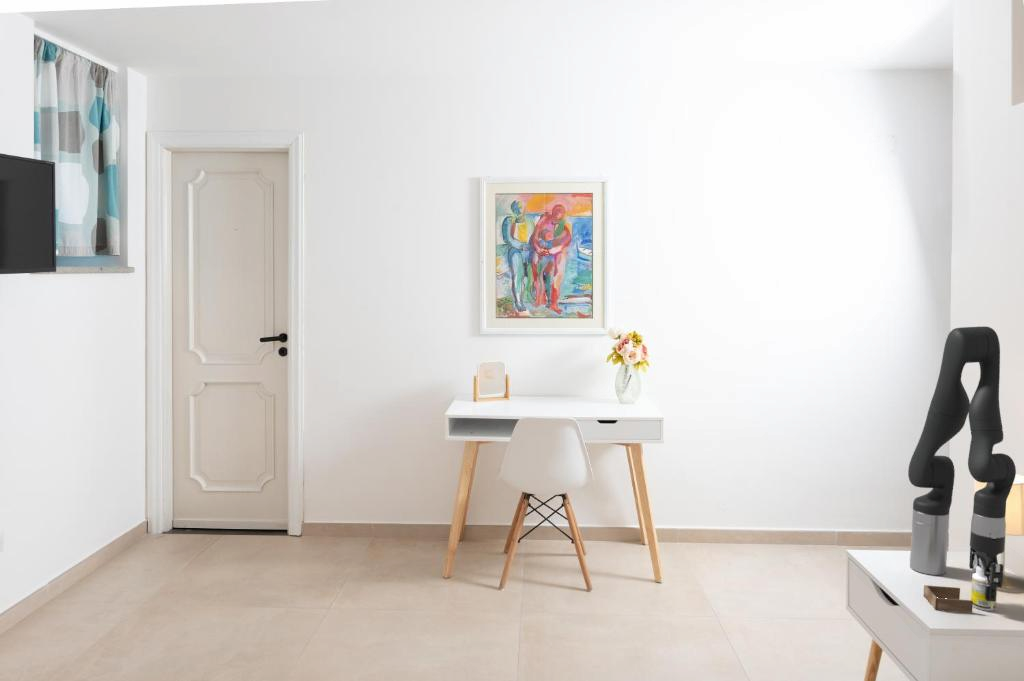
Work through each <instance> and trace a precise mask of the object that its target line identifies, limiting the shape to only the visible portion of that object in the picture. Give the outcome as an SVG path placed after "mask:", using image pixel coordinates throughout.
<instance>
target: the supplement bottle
mask: <svg viewBox="0 0 1024 681" xmlns="http://www.w3.org/2000/svg"><path fill="white" fill-rule="evenodd" d="M987 573H990V572H987ZM989 579H990V577H989ZM985 590H986V581H985V577H983V576H982V570H981V568H980V567H979V566H977V567H976V573H974V574H973V573H972V577H971V590H970V591H971V592H970V593H971V594H970V595H971V596H970V600H972V601H973V607H972V608H976V609H977V610H980V611H981V610H982V611H984V612H985V611H986V612H987V611H988V612H990V611H991V612H992V611H995V610H996V609H997V596H998V587H997V588H996V600H995V601H987V600H986V599H985Z"/></svg>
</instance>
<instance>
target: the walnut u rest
mask: <svg viewBox="0 0 1024 681" xmlns="http://www.w3.org/2000/svg"><path fill="white" fill-rule="evenodd" d="M960 594H961V588H960V587H956V586H955V587H953V586H938V585H926V584H925V585H924V586H923V597H924V599H925V598H926V599H927V600H928V601H927V600H926V599H925V600H926V601H927V602H928V603H929V605H930V606H931V605H932V606H933V607H932V606H931V607H932V608H933V609H934V610H935V611H942V610H944V612H956V613H970V614H971V613H973V608H974V607H973V601H972V600H971V599H960V598H961V595H960ZM937 597H938V598H937ZM945 598H947V599H945Z"/></svg>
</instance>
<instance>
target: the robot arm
mask: <svg viewBox="0 0 1024 681" xmlns="http://www.w3.org/2000/svg"><path fill="white" fill-rule="evenodd" d="M968 363H969V364H970V363H971V364H972V363H978V365H979V371H980V375H979V376H980V377H979V381H978V383H977V387H976V390H975V392H974V394H973V396H972V398H971V400H970V399H969V395H968V393H967V391H966V389H965V386H964V385H963V382H962V375H963V370H964V367H965V366H966V364H968ZM1000 365H1001V345H1000V339H999V336H998V334H997V332H996V331H995V330H994V329H993V328H992V327H990V326H968V327H967V326H964V327H955V328H953V329H951V331H950V332H948V334H947V337H946V340H945V343H944V348H943V353H942V359H941V365H940V370H939V374H938V378H937V382H936V385H935V389H934V392H933V395H932V398H931V401H930V404H929V407H928V411H927V415H926V420H925V423H924V426H923V429H922V432H921V434H920V437H919V440H918V442H917V444H916V446H915V449H914V451H913V452H912V453H913V454H912V455H911V458H910V461H909V464H908V470H907V471H908V473H907V474H908V479H909V482H910V483H911V485H913V486H914V487H915V488H916V487H917V488H923V489H931V490H930V491H929V492H927V493H925V494H922V495H921V496H917V497H916V498H914V500H913V502H912V520H911V521H912V522H911V538H910V552H909V553H910V556H909V557H910V558H909V568H910V569H911V570H913V571H915V572H917V573H920V574H921V573H922V574H926V575H932V576H935V575H936V576H938V575H939V576H940V575H944V574H945V573H946V571H947V561H948V560H947V559H948V557H947V556H948V541H949V528H950V527H949V526H950V523H949V522H950V509H951V506H952V502H953V491H954V486H955V485H954V484H955V473H956V472H955V465H954V462H953V460H952V459H951V458H950V457H949V456H946V455H936V454H937V453H938V451H939V449H941V447H943V446H944V445H945V444H946V443H948V442H949V441H951V440H952V439H953V438H954V437H955V436H957V435H958V434H959V433H960V432H961V430H963V428H964V426H965V424H966V421H967V418H968V422H969V428H970V429H969V430H970V435H971V438H970V443H969V451H968V456H967V457H968V458H967V467H968V471H969V473H970V475H971V477H972V478H973V479H974V481H976V482H979V483H983V484H985V483H986V485H985V486H984V487H982V488H981V489H978V490H976V491H975V493H974V495H973V506H972V507H973V509H972V517H971V519H970V520H971V522H970V536H969V537H970V538H969V565H968V566H969V569H970V570H971V573H972V575H973V574H974V573H976V567H977V566H979V567H980V568H981V570H982V576H983V577H985V581H986V590H985V599H986V600H987V601H995V600H996V601H997V598H996V588H997V589H998V588H1002V586H1003V578H1004V577H1003V575H1004V565H1003V564H1002V563H999V561H998V555H1000V554H1001V555H1002V554H1003V553H1004V552H1005V546H1006V545H1005V544H1006V531H1007V523H1006V512H1007V510H1006V509H1007V500H1008V498H1009V495H1010V493H1011V489H1012V488H1013V485H1014V482H1015V479H1016V475H1017V469H1016V465H1015V461H1014V459H1012V458H1011V456H1010V455H1008V454H1005V453H1001V452H999V453H993V452H994V451H993V450H994V446H995V445H997V444H1000V443H1002V442H1003V441H1004V430H1003V429H1004V428H1003V424H1002V417H1001V409H1000V380H1001V378H1000V377H1001V376H1000V373H1001V372H1000V371H1001V369H1000V368H1001V366H1000ZM987 572H990V573H987ZM989 577H990V579H989Z"/></svg>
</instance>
